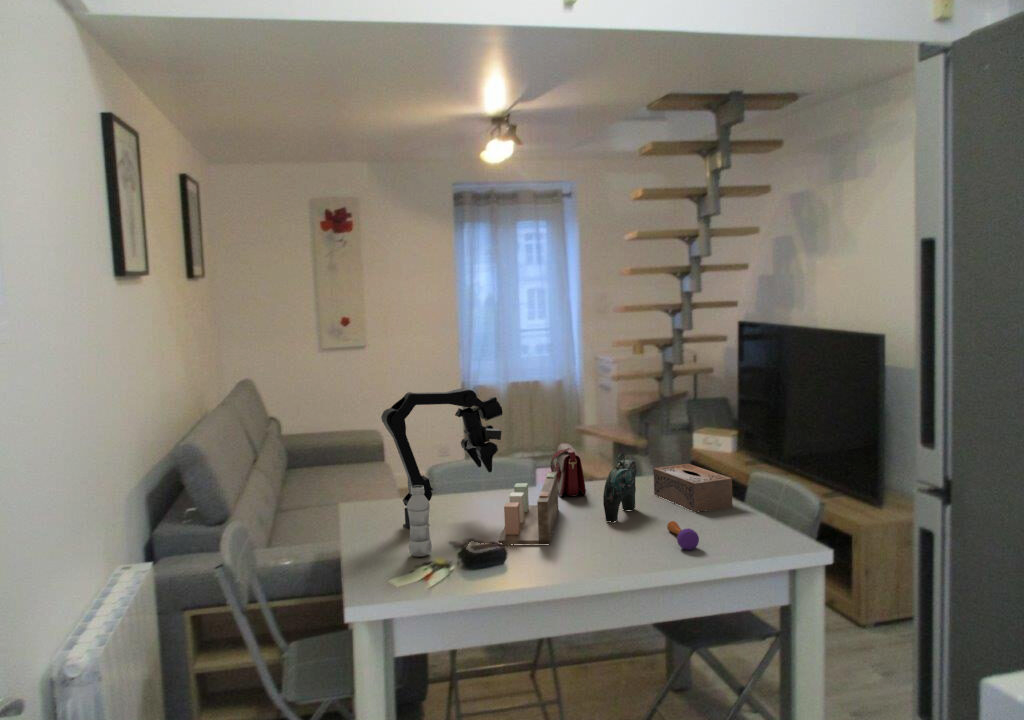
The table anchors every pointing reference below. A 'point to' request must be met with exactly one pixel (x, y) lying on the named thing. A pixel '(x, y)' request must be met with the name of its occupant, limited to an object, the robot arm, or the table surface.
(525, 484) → the pale green block
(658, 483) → the tissue box cover
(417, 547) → the plastic bottle
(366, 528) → the table surface
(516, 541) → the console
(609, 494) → the dark green arched piece
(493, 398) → the robot arm
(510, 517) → the pink rectangular block
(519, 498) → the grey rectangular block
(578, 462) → the handbag
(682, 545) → the purple maraca
